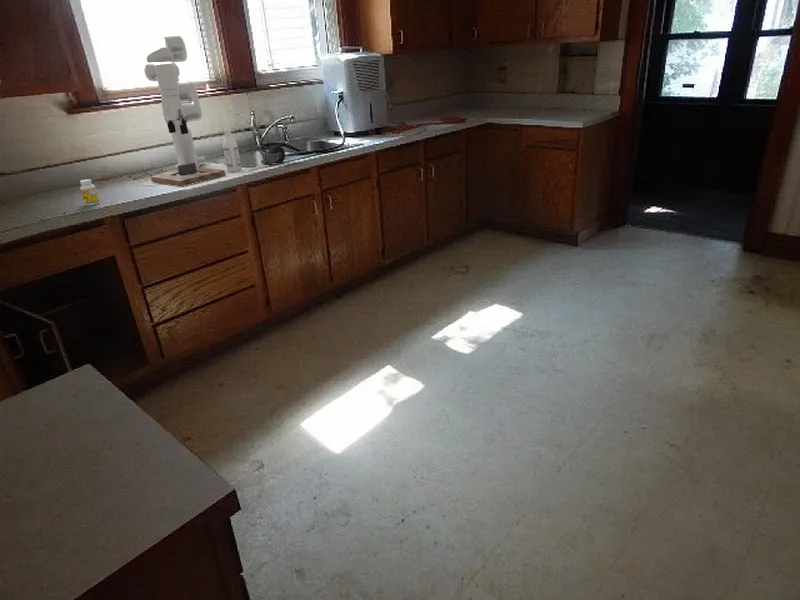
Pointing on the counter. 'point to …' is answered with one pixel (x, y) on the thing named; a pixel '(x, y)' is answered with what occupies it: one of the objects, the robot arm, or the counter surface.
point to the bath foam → (231, 152)
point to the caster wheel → (274, 155)
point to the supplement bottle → (89, 192)
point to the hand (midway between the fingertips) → (178, 133)
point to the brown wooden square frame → (181, 181)
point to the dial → (187, 170)
